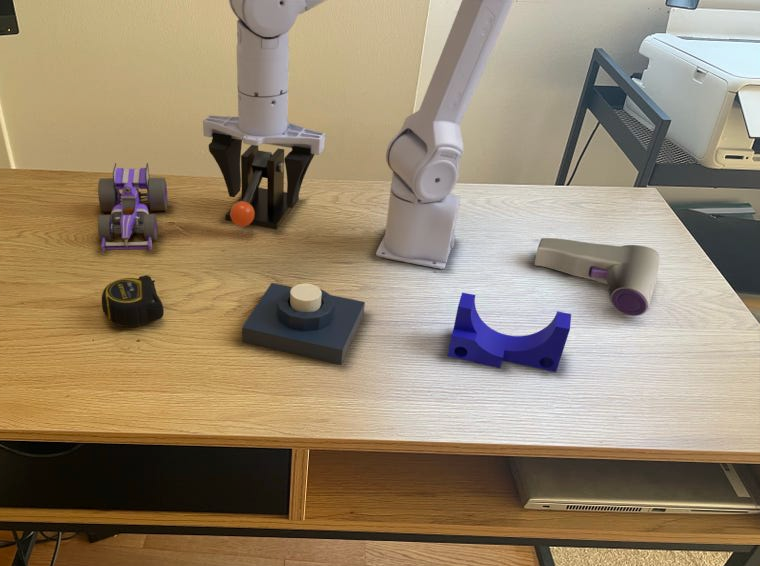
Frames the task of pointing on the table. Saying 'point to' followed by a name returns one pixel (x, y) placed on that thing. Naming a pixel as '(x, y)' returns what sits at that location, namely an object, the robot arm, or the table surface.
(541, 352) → the blue semicircular cradle
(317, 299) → the button
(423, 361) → the table surface
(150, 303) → the tape measure
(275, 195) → the bracket
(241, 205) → the lever
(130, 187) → the toy race car
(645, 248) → the infrared thermometer
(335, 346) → the control block
